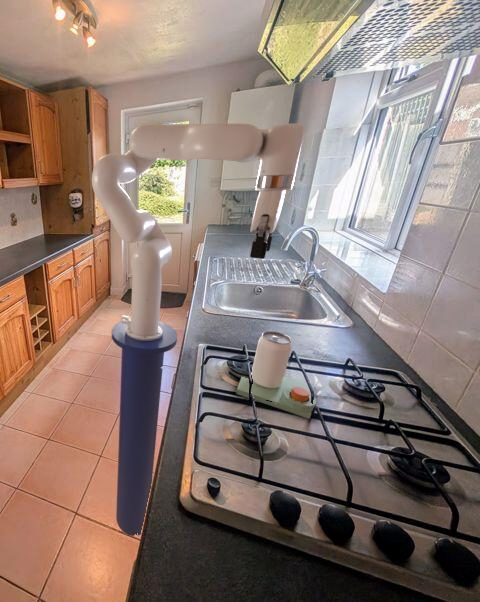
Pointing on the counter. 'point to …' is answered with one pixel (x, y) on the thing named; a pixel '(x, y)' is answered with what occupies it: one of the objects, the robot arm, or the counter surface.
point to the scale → (279, 396)
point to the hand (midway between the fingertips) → (259, 254)
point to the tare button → (300, 394)
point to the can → (271, 359)
